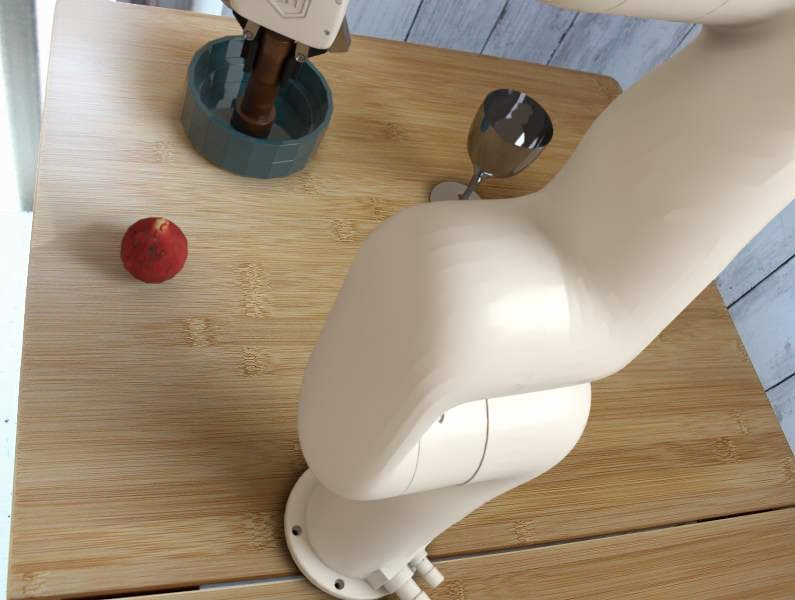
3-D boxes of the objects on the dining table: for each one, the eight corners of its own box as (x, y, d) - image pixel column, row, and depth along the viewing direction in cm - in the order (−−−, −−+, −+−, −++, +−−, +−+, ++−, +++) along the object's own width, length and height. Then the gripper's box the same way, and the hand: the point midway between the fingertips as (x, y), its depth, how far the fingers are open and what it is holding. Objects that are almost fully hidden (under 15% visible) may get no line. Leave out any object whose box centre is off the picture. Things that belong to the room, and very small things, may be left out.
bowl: (344, 152, 94) (361, 116, 89) (238, 202, 85) (250, 165, 81) (261, 60, 97) (273, 20, 92) (150, 99, 88) (157, 57, 83)
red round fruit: (168, 308, 76) (181, 260, 70) (106, 285, 75) (114, 235, 69) (189, 260, 80) (204, 210, 73) (131, 237, 79) (140, 185, 72)
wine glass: (415, 182, 96) (470, 90, 84) (471, 175, 100) (531, 86, 88) (444, 239, 93) (505, 152, 81) (500, 229, 97) (566, 144, 85)
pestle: (279, 128, 91) (312, 39, 81) (248, 142, 89) (277, 51, 79) (255, 100, 92) (283, 9, 82) (223, 113, 90) (249, 20, 79)
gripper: (209, -106, 66) (176, 62, 81) (399, -19, 70) (334, 128, 84) (237, -151, 71) (201, 16, 85) (414, -67, 74) (350, 80, 88)
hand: (268, 70), depth 85 cm, fingers closed on pestle, 3 cm apart
